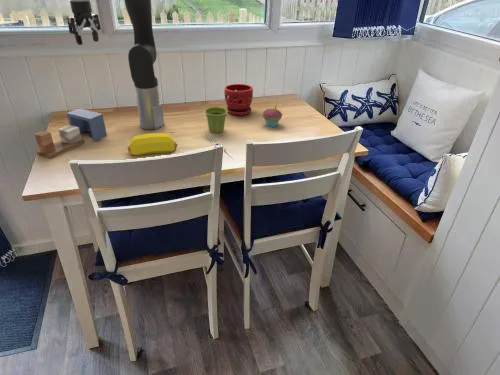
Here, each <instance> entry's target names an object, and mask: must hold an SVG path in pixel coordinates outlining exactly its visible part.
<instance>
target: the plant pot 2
mask: <svg viewBox="0 0 500 375" xmlns="http://www.w3.org/2000/svg"><path fill="white" fill-rule="evenodd" d="M253 94H254V88H253V86H251V85H249V84H246V83H245V84H244V83H233V84H228V85H225V87H224V100H225V103H226V106H227V107H226V109H227V111H228V112H227V113H229V114H231V115H234V116H246V115H248V114H249V113H251V111H252V108H251V105H252V101H253V98H254V96H253Z"/></svg>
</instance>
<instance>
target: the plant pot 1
mask: <svg viewBox="0 0 500 375" xmlns="http://www.w3.org/2000/svg"><path fill="white" fill-rule="evenodd" d="M204 113H205V115H206V120H207V124H208V130H209V132H210V133H211V134H212V133H213V134H218V133H222V132H224V130H225V122H226V116H227V113H229V112H228V111H227V108H225V107H222V106H211V107H208V108H206V109H204Z"/></svg>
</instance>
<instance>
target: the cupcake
mask: <svg viewBox="0 0 500 375" xmlns="http://www.w3.org/2000/svg"><path fill="white" fill-rule="evenodd" d="M278 100H279V99H278V98H277V99H276V101H275V104H274V108H267V109H266V110H264V111H263V112H262V118H263V119H264V121H265V124H266V126H267V127H272V128H273V127H274V128H275V127H277V126H278V124H279V122H280V121H281V119H282V117H283V113H282V112H281V111H280V110H279V109H277V106H278V102H279V101H278Z"/></svg>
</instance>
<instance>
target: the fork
mask: <svg viewBox="0 0 500 375" xmlns="http://www.w3.org/2000/svg"><path fill="white" fill-rule="evenodd" d="M206 138H207V139H208V141H209V142H210V143H214V145H215V144H216V142H218V140H217V139H216V137H215V136H214V135H213V134H212V133H210V134H206ZM217 144H218V145H217V146H220V145H222V144H220V142H218V143H217ZM215 146H216V145H215ZM224 150H225V151H226V150H227V148H225V147H224ZM224 150H223V151H224ZM225 151H224V152H225Z"/></svg>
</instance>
